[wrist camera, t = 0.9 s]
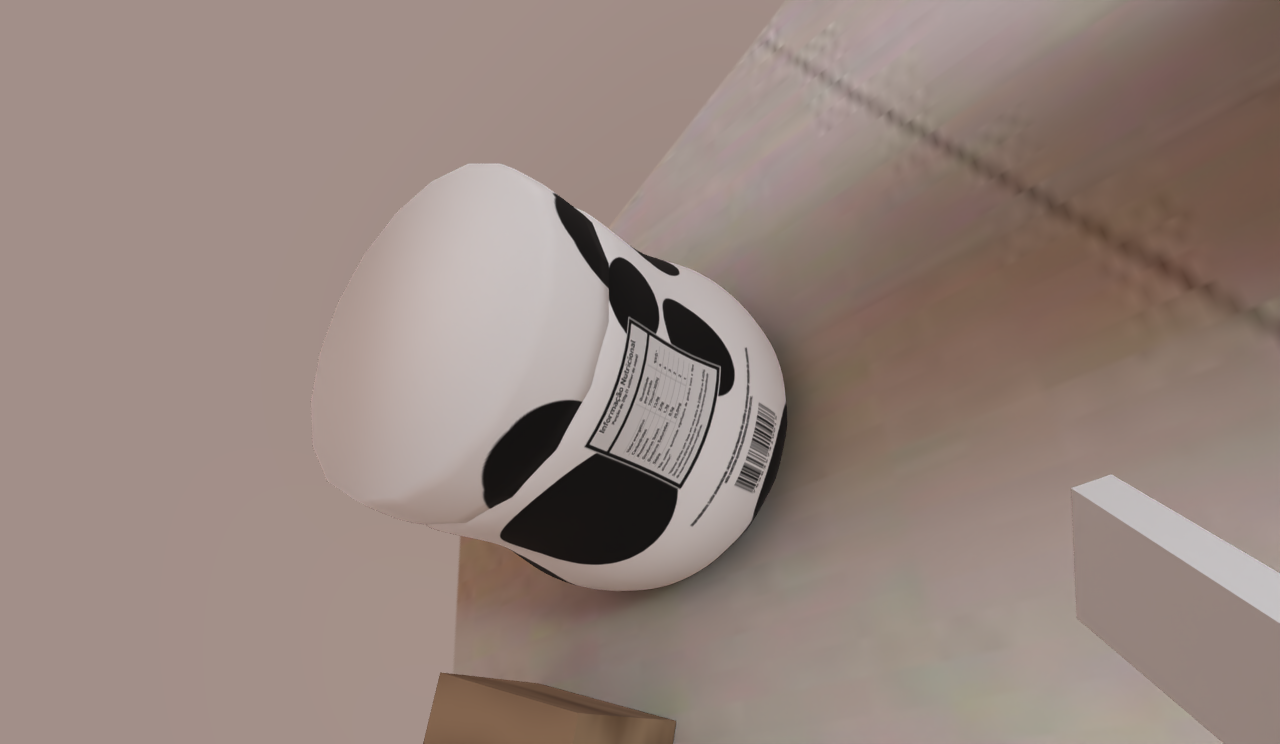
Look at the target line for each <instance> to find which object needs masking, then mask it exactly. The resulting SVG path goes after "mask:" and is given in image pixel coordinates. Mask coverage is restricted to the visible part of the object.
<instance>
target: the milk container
mask: <svg viewBox="0 0 1280 744" xmlns="http://www.w3.org/2000/svg"><path fill="white" fill-rule="evenodd" d="M311 420H312V443H313V449H314V451H315V454H316V456H317V458H318V461H319V463H320V466H321V468H322V470H323V473H324V475H325V478H326V480H327V482H329V483H330V484H332V485H333V486H335V487H336V488H338V489H339V490H341V491H342V492H344V493H345V494H347V495H348V496H350V497H351V498H353V499H354V500H356V501H358V502H359V503H361V504H363V505H365V506H367V507H369V508H371V509H374V510H376V511H379V512H381V513H384V514H386V515H389V516H391V517H394V518H396V519H400V520H403V521H407V522H411V523H418V524H425V525H427V526H428V527H430V528H433V529H436V530H438V531H442V532H446V533H450V534H455V535H459V536H464V537H469V538H474V539H478V540H483V541H487V542H491V543H495V544H498V545H501V546H504V547H506V548H508V549H510V550H511V551H513V552H514V553H516V554H517V555H519V556H520V557H521V558H523V559H524V560H526V561H527V562H529V563H530V564H532V565H533V566H534V567H536V568H538V569H539V570H541V571H543V572H544V573H546V574H548V575H550V576H552V577H554V578H557V579H560V580H562V581H565V582H568V583H570V584H573V585H577V586H582V587H586V588H591V589H597V590H608V591H636V590H647V589H654V588H659V587H663V586H667V585H670V584H673V583H676V582H678V581H681V580H683V579H685V578H687V577H689V576H691V575H693V574H695V573H696V572H698V571H700V570H701V569H703V568H705V567H707V566H708V565H710V564H711V563H712V562H713V561H715V560H716V559H717V558H718V557H720V556H721V555H722V554H723V553H724V552H725V551H726V550H727V549H728V548H729V547H730V546H731V545H732V544H733V543H734V542H735V541H736V540H737V539H738V538H739V537H740V536H741V535H742V534H743V533H744V532H745V531H746V530H747V528H748V527H749V526H750V524H751V522H752V521H753V519H754V518H755V516H756V515H757V513H758V511H759V509H760V507H761V506H762V504H763V502H764V500H765V498H766V497H767V495H768V493H769V491H770V489H771V487H772V485H773V482H774V480H775V478H776V475H777V471H778V468H779V464H780V460H781V455H782V450H783V446H784V441H785V436H786V428H787V407H786V397H785V387H784V381H783V376H782V372H781V368H780V364H779V362H778V359H777V356H776V354H775V351H774V349H773V347H772V345H771V343H770V342H769V340H768V338H767V337H766V335H765V333H764V332H763V331H762V329H761V328H760V326H759V325H758V324H757V323H756V321H755V320H754V319H753V317H752V316H751V315H750V314H749V312H748V311H747V310H746V309H745V308H744V307H743V306H742V305H741V304H740V303H739V302H738V301H737V300H736V299H735V298H734V297H733V296H732V295H731V294H729V293H728V292H727V291H726V290H725V289H723V288H722V287H721V286H719V285H718V284H717V283H715V282H714V281H712V280H710V279H709V278H707V277H705V276H703V275H702V274H700V273H698V272H696V271H694V270H691V269H689V268H687V267H684V266H681V265H678V264H675V263H671V262H668V261H664V260H661V259H657V258H653V257H650V256H647V255H645V254H643V253H641V252H639V251H637V250H636V249H634V248H633V247H632V246H630V245H629V244H628V243H626V242H625V241H624V240H622V239H621V238H620V237H618V236H617V235H616V234H615V233H613V232H612V231H611V230H610V229H608V228H607V227H606V226H604V225H603V224H602V223H600V222H599V221H597V220H596V219H595V218H594V217H592V216H591V215H589V214H587V213H586V212H584V211H582V210H580V209H577V208H575V207H573V206H572V205H570V204H569V203H568V202H566V201H565V200H564V199H562V198H561V197H560V196H558V195H557V194H556V193H554V192H553V191H552V190H550V189H549V188H547V187H546V186H545V185H543V184H542V183H540V182H538V181H536V180H534V179H532V178H531V177H529V176H527V175H525V174H523V173H521V172H519V171H517V170H516V169H513V168H511V167H508V166H506V165H503V164H467V165H465V166H463V167H460V168H458V169H456V170H454V171H452V172H450V173H448V174H446V175H444V176H442V177H440V178H438V179H436V180H433V181H432V182H430V183H429V184H428V185H427V186H426V187H425V188H424V189H422V190H421V191H420V192H419V193H418V194H417V195H416V196H414V197H413V198H412V199H411V200H410V201H409V202H408V203H406V204H405V205H404V206H403V207H402V208H401V209H400V210H399V211H397V212H396V214H395V215H394V216H393V217H392V219H391V220H390V221H389V223H388V224H387V225H386V227H385V228H384V229H383V230H382V232H381V233H380V234H379V235H378V237H377V238H376V239H375V241H374V242H373V243H372V245H371V246H370V247H369V248H368V250H367V251H366V252H365V254H364V255H363V257H362V259H361V261H360V263H359V265H358V266H357V268H356V270H355V272H354V274H353V276H352V277H351V279H350V281H349V283H348V285H347V286H346V288H345V290H344V292H343V294H342V296H341V297H340V299H339V301H338V304H337V306H336V309H335V312H334V315H333V317H332V320H331V323H330V325H329V328H328V331H327V334H326V336H325V340H324V342H323V345H322V347H321V350H320V354H319V359H318V365H317V370H316V376H315V381H314V387H313V392H312V397H311Z"/></svg>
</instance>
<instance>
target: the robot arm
mask: <svg viewBox="0 0 1280 744" xmlns="http://www.w3.org/2000/svg"><path fill="white" fill-rule="evenodd" d="M1071 498H1072V521H1073V544H1074V568H1075V591H1076V615H1077V619H1078V620H1079V621H1081V622H1082V623H1083V624H1084V625H1085V626H1087V627H1088V628H1089V629H1090V630H1091V631H1092V632H1094V633H1095V634H1096V635H1097V636H1098V637H1099V638H1101V639H1102V640H1103V641H1104V642H1105V643H1106V644H1108V645H1109V646H1110V647H1111V648H1112V649H1114V650H1115V651H1116V652H1117V653H1118V654H1119V655H1121V656H1122V657H1123V658H1124V659H1125V660H1126V661H1128V662H1129V663H1130V664H1131V665H1132V666H1133V667H1135V668H1136V669H1137V670H1138V671H1139V672H1141V673H1142V674H1143V675H1144V676H1145V677H1146V678H1148V679H1149V680H1150V681H1151V682H1152V683H1153V684H1155V685H1156V686H1157V687H1158V688H1159V689H1161V690H1162V691H1163V692H1164V693H1165V694H1166V695H1168V696H1169V697H1170V698H1171V699H1172V700H1173V701H1175V702H1176V703H1177V704H1178V705H1179V706H1180V707H1182V708H1183V709H1184V710H1185V711H1186V712H1188V713H1189V714H1190V715H1191V716H1192V717H1193V718H1195V719H1196V720H1197V721H1198V722H1199V723H1200V724H1202V725H1203V726H1204V727H1205V728H1206V729H1207V730H1209V731H1210V732H1211V733H1212V734H1213V735H1215V736H1216V737H1217V738H1218V739H1219V740H1220V741H1222V742H1223V743H1224V744H1280V573H1278V572H1277V571H1275V570H1273V569H1272V568H1270V567H1268V566H1267V565H1265V564H1263V563H1261V562H1260V561H1258V560H1256V559H1255V558H1253V557H1251V556H1250V555H1248V554H1246V553H1244V552H1243V551H1241V550H1239V549H1238V548H1236V547H1234V546H1233V545H1231V544H1229V543H1227V542H1226V541H1224V540H1222V539H1221V538H1219V537H1217V536H1215V535H1214V534H1212V533H1210V532H1209V531H1207V530H1205V529H1204V528H1202V527H1200V526H1198V525H1197V524H1195V523H1193V522H1192V521H1190V520H1188V519H1187V518H1185V517H1183V516H1181V515H1180V514H1178V513H1176V512H1175V511H1173V510H1171V509H1170V508H1168V507H1166V506H1164V505H1163V504H1161V503H1159V502H1158V501H1156V500H1154V499H1153V498H1151V497H1149V496H1147V495H1146V494H1144V493H1142V492H1141V491H1139V490H1137V489H1136V488H1134V487H1132V486H1130V485H1129V484H1127V483H1125V482H1124V481H1122V480H1120V479H1118V478H1117V477H1115V476H1113V475H1112V474H1111V475H1108V476H1105V477H1102V478H1099V479H1096V480H1093V481H1090V482H1087V483H1085V484H1082V485H1079V486H1076V487H1073V488H1071Z"/></svg>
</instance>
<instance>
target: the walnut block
mask: <svg viewBox="0 0 1280 744" xmlns="http://www.w3.org/2000/svg"><path fill="white" fill-rule="evenodd" d="M675 726H676V721H674V720H670V719H667V718H663V717H659V716H656V715H652V714H648V713H645V712H641V711H637V710H634V709H630V708H626V707H623V706H619V705H615V704H612V703H608V702H604V701H601V700H597V699H593V698H590V697H586V696H582V695H579V694H575V693H571V692H568V691H564V690H560V689H557V688H553V687H549V686H546V685H542V684H538V683H529V682H520V681H511V680H502V679H493V678H484V677H475V676H466V675H458V674H448V673H440V676H439V680H438V685H437V689H436V693H435V697H434V701H433V705H432V709H431V713H430V718H429V722H428V726H427V730H426V734H425V739H424V742H423V744H673V739H674V732H675Z"/></svg>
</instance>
